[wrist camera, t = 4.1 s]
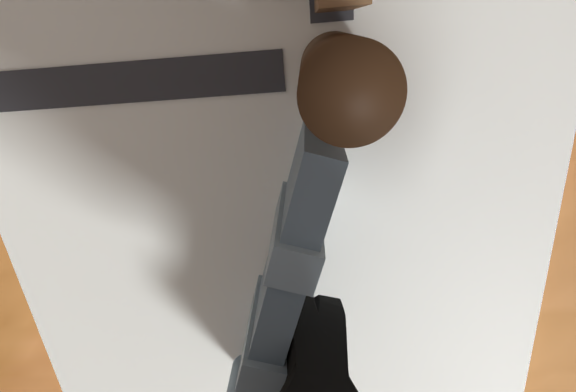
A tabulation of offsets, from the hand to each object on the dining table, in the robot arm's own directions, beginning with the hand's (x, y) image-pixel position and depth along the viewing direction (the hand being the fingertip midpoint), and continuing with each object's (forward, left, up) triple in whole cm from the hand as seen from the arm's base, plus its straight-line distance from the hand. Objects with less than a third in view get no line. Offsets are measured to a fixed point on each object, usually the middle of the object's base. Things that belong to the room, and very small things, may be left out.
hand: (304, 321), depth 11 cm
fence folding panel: (+1, +1, -1) cm, 2 cm away
